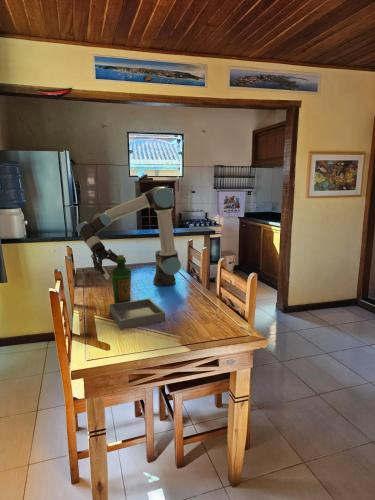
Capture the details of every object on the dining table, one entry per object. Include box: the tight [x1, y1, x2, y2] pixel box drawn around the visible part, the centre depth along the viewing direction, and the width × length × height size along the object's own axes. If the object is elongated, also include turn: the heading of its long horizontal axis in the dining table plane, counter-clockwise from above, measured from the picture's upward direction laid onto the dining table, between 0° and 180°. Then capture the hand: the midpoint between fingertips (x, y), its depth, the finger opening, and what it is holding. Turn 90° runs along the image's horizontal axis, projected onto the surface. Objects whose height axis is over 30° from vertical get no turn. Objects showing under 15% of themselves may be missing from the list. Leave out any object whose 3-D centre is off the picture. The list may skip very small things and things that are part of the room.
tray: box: [108, 297, 166, 331], centre depth 162 cm, size 22×22×4 cm
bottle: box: [111, 254, 132, 304], centre depth 176 cm, size 11×11×28 cm
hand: (117, 275), depth 176 cm, fingers open, 13 cm apart
